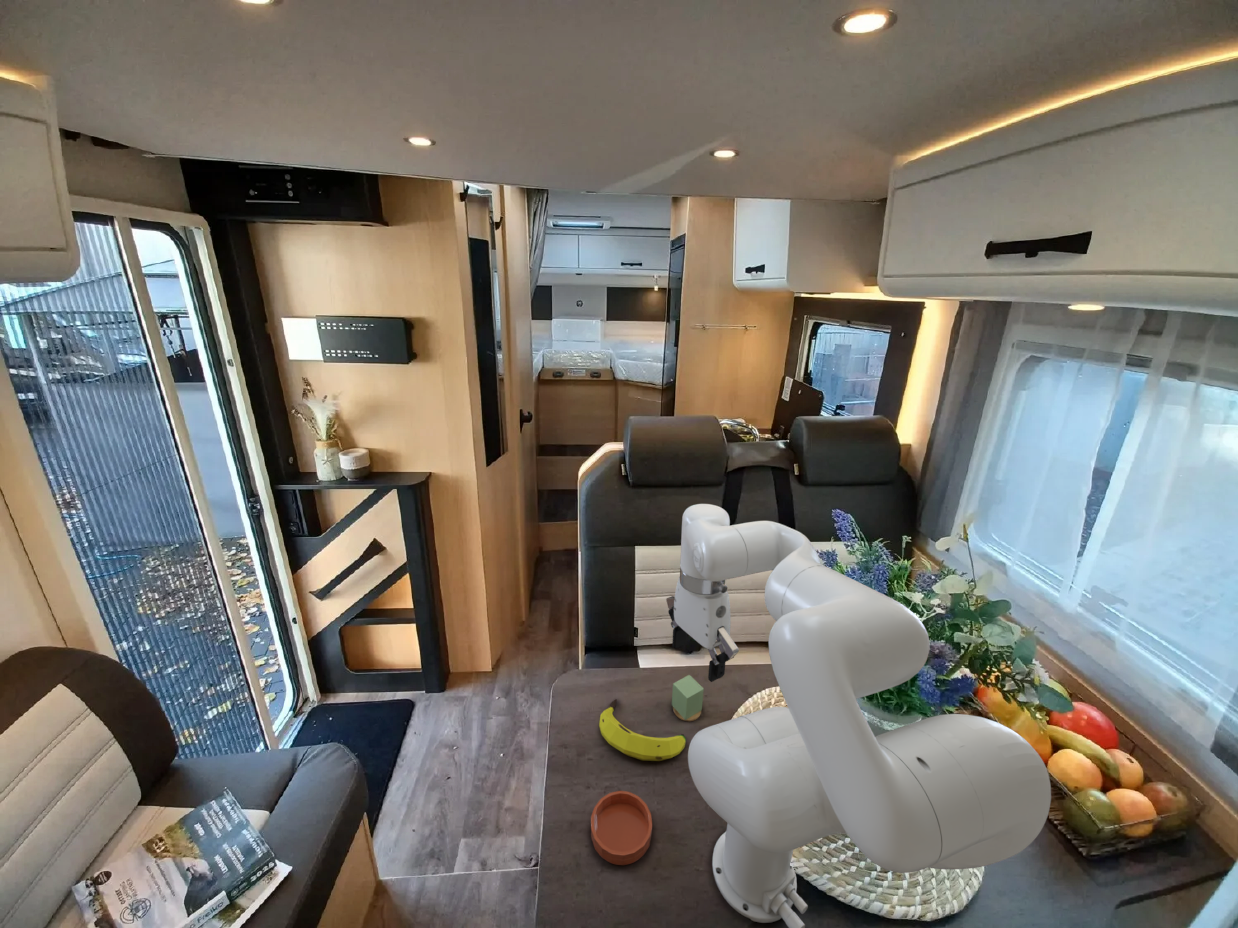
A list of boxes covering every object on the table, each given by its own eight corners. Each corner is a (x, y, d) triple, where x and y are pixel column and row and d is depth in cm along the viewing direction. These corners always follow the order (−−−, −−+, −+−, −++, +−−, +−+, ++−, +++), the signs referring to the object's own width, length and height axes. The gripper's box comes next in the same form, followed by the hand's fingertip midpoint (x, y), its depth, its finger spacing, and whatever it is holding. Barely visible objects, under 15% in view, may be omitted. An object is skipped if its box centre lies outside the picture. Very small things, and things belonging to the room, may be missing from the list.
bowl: (663, 842, 79) (664, 830, 78) (611, 881, 74) (611, 869, 72) (629, 791, 87) (629, 779, 86) (579, 823, 81) (579, 811, 80)
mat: (706, 712, 103) (707, 711, 102) (685, 725, 99) (685, 724, 99) (688, 693, 107) (688, 692, 107) (667, 705, 104) (667, 704, 104)
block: (701, 710, 103) (703, 688, 101) (685, 720, 100) (687, 698, 98) (687, 695, 106) (689, 674, 104) (671, 704, 104) (672, 683, 102)
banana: (690, 750, 90) (681, 695, 104) (598, 743, 90) (601, 689, 104) (688, 770, 91) (679, 714, 105) (596, 764, 90) (600, 708, 105)
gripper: (757, 595, 75) (748, 683, 81) (686, 549, 89) (682, 627, 95) (722, 611, 71) (715, 702, 77) (653, 561, 85) (651, 640, 91)
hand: (697, 660), depth 86 cm, fingers open, 9 cm apart
